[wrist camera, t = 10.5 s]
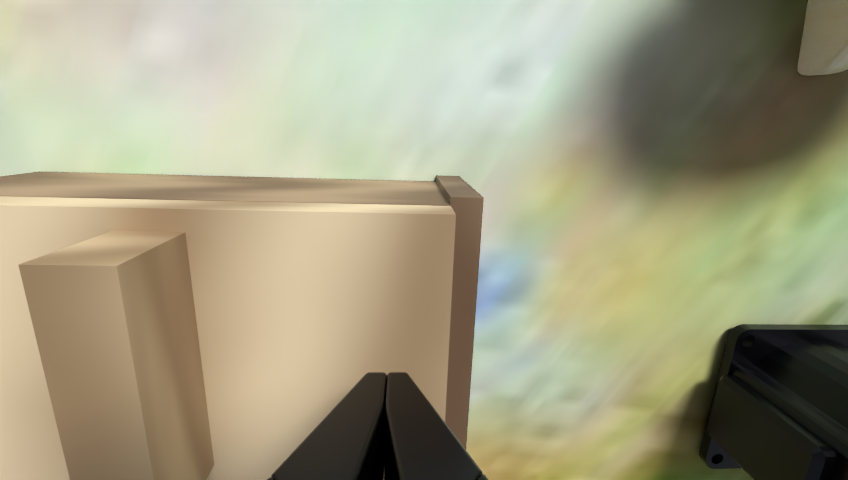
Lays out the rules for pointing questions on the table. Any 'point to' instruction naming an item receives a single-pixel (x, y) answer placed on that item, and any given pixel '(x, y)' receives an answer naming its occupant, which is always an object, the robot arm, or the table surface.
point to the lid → (206, 328)
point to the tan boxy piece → (313, 191)
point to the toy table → (824, 38)
